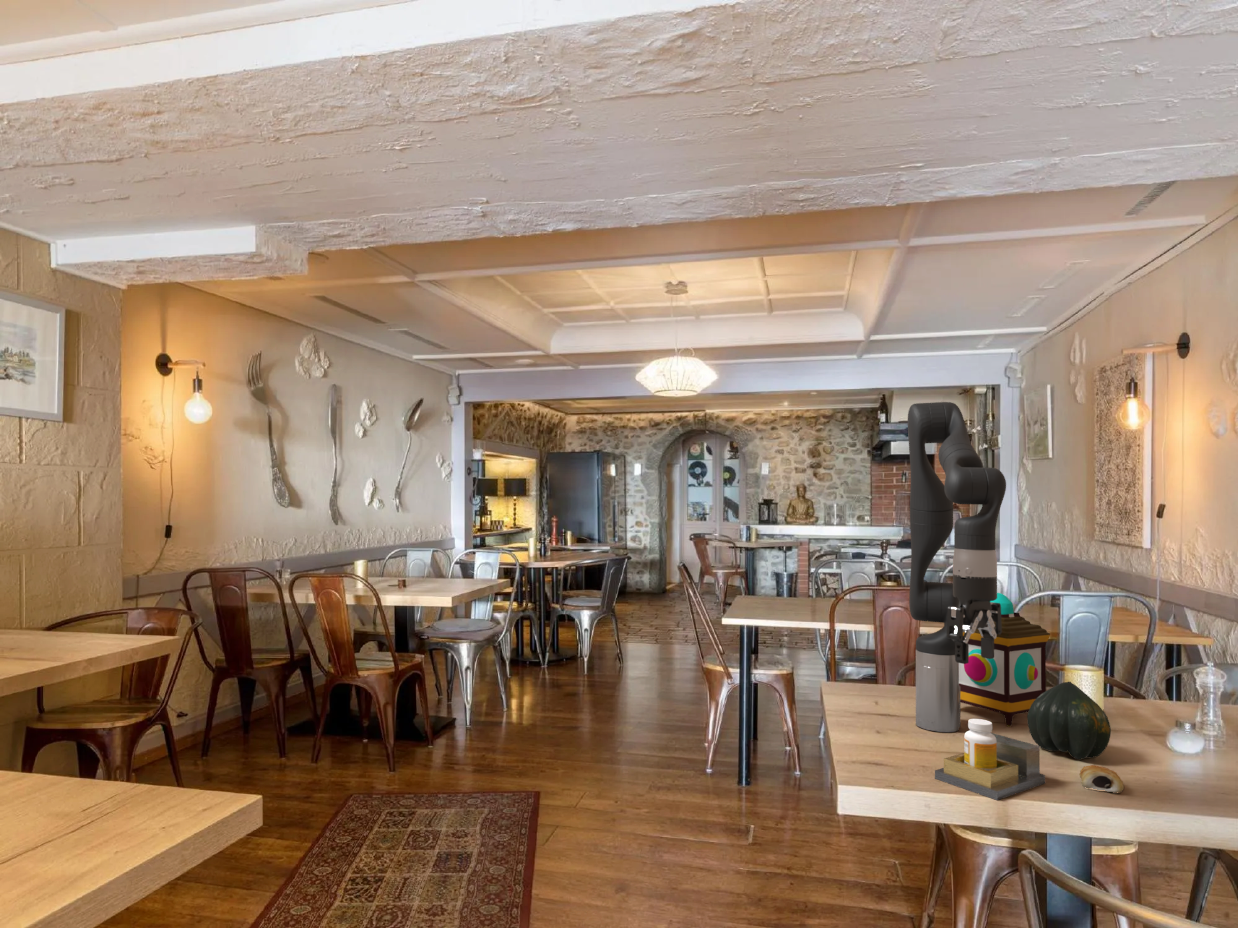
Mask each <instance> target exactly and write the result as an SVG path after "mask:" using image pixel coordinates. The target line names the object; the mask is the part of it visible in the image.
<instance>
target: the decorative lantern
mask: <svg viewBox="0 0 1238 928" xmlns="http://www.w3.org/2000/svg"><path fill="white" fill-rule="evenodd" d="M990 602H993V603H1000V604H1001V624H1002V633H1001V634H1000V635H999V634H997V637H996V639H994V658H993V659H987V658H983V657H982V656H981V638H982V636H981V634H980V632H979V630H978V629H976V630H975V632H974V633H973V634H971V636H970V638H969V641H968V644H969V662H968V663H967V664H962V663H959V685H960V704H966V705H969V706H973V707H977V708H981V709H985V710H987V711H988V710H989V711H992V712H994V713H999V714H1001V715H1003V717H1004V722H1005V725H1006V727H1009V728H1010V727H1012V725H1013V721H1014V720H1013V719H1014V716H1016V715H1020V714H1021V715H1022V714H1025V713H1028V712H1029V709H1030V707H1031V705H1032V703H1033V702H1034V701H1035V700H1036V698H1037V697H1039V696H1040V695H1041V694H1042V693H1044V692H1045V691H1047V687H1046V686H1047V685H1046V684H1047V682H1046V681H1047V676H1046V675H1047V673H1046V672H1047V670H1046V667H1047V665H1046V664H1047V663H1046V655H1047V654H1046V653H1047V652H1046V650H1047V649H1046V645H1047V642H1048V640H1049V639H1050V637H1051V633H1050V632H1048V631H1047V629H1045V628H1042V626H1041V625H1040V624H1034V623H1031V622H1030V621H1029V620H1027V619H1025V617H1023V616H1020V612H1014V604H1013V601H1011V599H1010V598H1008V596H1006V595H1005V594H1003V593H1001V592H997V599H996V600H994V601H990ZM993 622H994V624H995V627H996V622H995V621H993ZM963 625H964V624H963ZM964 633H965V632H963V636H964ZM983 638H984V637H983Z"/></svg>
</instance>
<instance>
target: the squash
mask: <svg viewBox="0 0 1238 928" xmlns="http://www.w3.org/2000/svg"><path fill="white" fill-rule="evenodd" d="M1026 718H1027V727H1028V730H1029V734H1030V736H1031V738H1032V740H1033V741H1034V742H1035V743H1036V745H1038V746H1039V747H1040V748H1041V749H1043V750H1045V751H1049V752H1058V751H1060V752H1062V753H1067V752H1068V754H1069V756H1071V757H1072V758H1073V759H1076V760H1082V759H1083V760H1084V759H1086V758H1088V759H1089V758H1096V757H1099V756H1100V755H1101V754H1103V752H1104V751H1105V750H1106V749H1107V747H1108V745H1109V743H1110V739H1111V732H1112V729H1111V728H1112V727H1111V723H1110V719H1109V717H1108V716H1107V714H1106V712H1105V711H1104V710H1103V708H1102V707H1101V706H1100V705H1099V704H1098V703H1097V702H1096V701H1094V700H1093V699H1092V698H1091V697H1090V696H1089V695H1088V694H1086V692H1084V691H1083V690H1082V689H1081V688H1080V687H1079V686H1078V685H1076V684H1074V683H1073V682H1072V681H1066V682H1061V683H1058V684H1056V685H1054V686H1053V687H1051V688H1049V689H1046V691H1045V692H1044V693H1042V694H1041V695H1040V696H1039V697H1037V698H1036V700H1035V701H1034V702H1033V703H1032V705H1031V707H1030V709H1029V712H1027V717H1026Z"/></svg>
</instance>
